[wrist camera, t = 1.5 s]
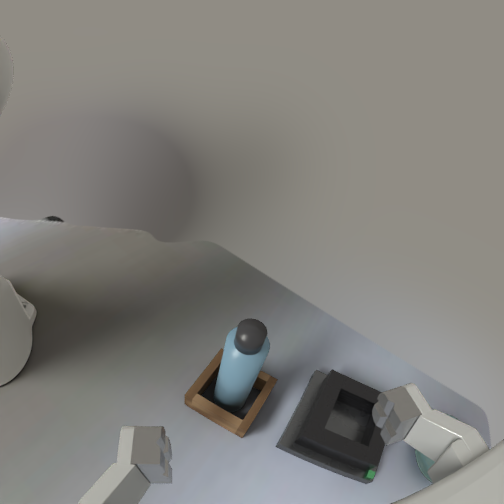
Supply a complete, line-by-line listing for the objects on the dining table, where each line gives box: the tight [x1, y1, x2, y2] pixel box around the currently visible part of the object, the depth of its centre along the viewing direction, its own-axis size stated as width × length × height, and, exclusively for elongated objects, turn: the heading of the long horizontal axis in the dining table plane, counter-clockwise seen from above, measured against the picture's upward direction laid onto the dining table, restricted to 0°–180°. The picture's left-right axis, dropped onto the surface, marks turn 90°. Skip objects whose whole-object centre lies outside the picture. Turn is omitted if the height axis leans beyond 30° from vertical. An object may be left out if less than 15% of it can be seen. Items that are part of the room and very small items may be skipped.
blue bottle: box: [214, 319, 270, 412], centre depth 31 cm, size 4×4×15 cm
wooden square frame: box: [185, 348, 278, 438], centre depth 34 cm, size 8×8×3 cm
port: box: [276, 370, 385, 484], centre depth 32 cm, size 13×12×4 cm
